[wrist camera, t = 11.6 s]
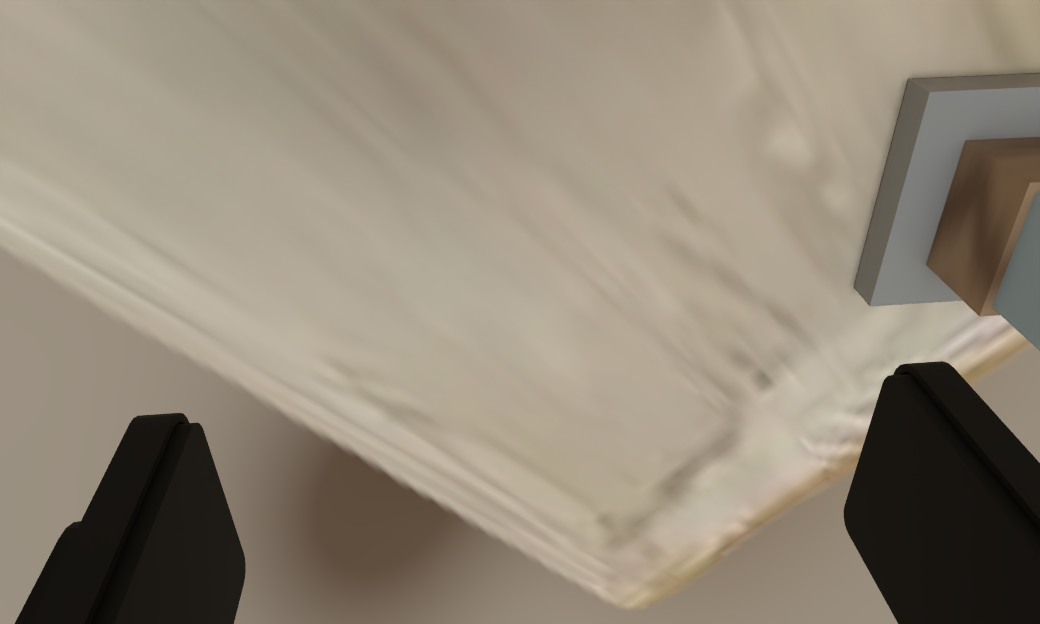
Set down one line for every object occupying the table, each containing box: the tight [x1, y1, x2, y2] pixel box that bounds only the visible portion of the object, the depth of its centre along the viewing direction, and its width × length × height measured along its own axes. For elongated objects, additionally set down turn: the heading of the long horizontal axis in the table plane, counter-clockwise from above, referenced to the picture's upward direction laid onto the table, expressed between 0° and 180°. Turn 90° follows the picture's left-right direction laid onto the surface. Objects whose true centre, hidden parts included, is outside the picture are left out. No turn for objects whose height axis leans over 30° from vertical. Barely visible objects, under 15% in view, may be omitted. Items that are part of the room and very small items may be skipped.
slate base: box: [854, 73, 1040, 306], centre depth 41 cm, size 12×12×2 cm
